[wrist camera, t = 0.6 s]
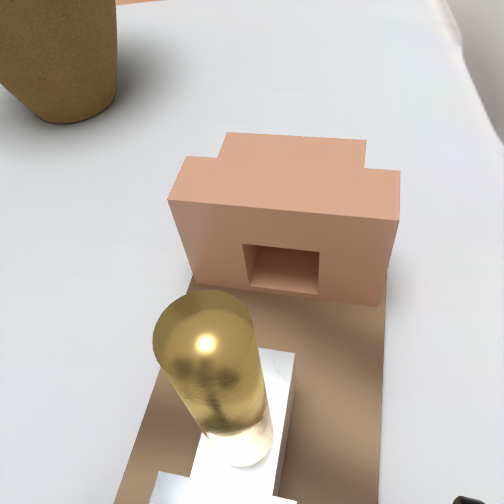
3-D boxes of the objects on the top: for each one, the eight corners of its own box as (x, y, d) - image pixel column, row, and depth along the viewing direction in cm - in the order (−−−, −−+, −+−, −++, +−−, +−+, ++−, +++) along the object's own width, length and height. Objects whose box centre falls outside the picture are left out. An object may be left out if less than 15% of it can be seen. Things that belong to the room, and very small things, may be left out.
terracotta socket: (377, 307, 24) (399, 220, 18) (196, 283, 26) (167, 199, 20) (381, 235, 27) (401, 142, 21) (218, 219, 29) (197, 130, 23)
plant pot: (-7, 174, 35) (-180, -59, 23) (-2, 79, 44) (-124, -125, 32) (174, 123, 37) (108, -119, 25) (144, 42, 46) (84, -166, 34)
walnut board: (351, 1067, 12) (354, 1102, 11) (-12, 900, 14) (-31, 918, 13) (385, 243, 28) (388, 233, 27) (215, 226, 30) (213, 216, 29)
